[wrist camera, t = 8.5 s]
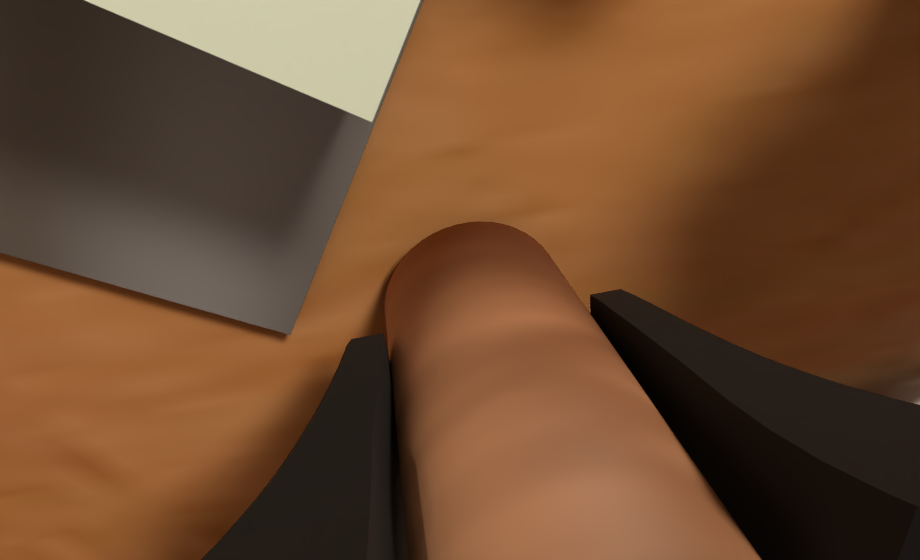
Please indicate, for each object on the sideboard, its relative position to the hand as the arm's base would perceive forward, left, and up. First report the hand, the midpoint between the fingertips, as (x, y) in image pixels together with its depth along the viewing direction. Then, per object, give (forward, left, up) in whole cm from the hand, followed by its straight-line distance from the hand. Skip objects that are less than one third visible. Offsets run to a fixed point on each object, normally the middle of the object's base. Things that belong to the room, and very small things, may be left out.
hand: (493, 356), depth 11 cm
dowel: (0, 0, -2) cm, 2 cm away
